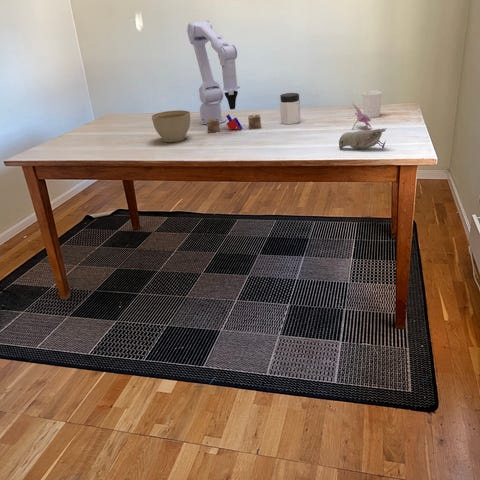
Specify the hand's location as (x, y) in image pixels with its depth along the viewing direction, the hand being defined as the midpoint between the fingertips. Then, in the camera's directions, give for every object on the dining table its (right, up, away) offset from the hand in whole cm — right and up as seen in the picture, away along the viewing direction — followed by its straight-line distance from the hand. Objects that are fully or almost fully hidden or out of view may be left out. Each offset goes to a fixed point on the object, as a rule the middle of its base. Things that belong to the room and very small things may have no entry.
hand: (232, 109), depth 215 cm
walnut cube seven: (-8, -9, +4) cm, 13 cm away
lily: (+52, -12, -14) cm, 55 cm away
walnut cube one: (+10, -7, +4) cm, 13 cm away
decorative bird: (+46, -25, -39) cm, 65 cm away
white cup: (+61, -2, +4) cm, 61 cm away
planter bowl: (-25, -14, -3) cm, 29 cm away
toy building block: (+1, -8, +4) cm, 9 cm away
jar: (+26, -4, +7) cm, 27 cm away
